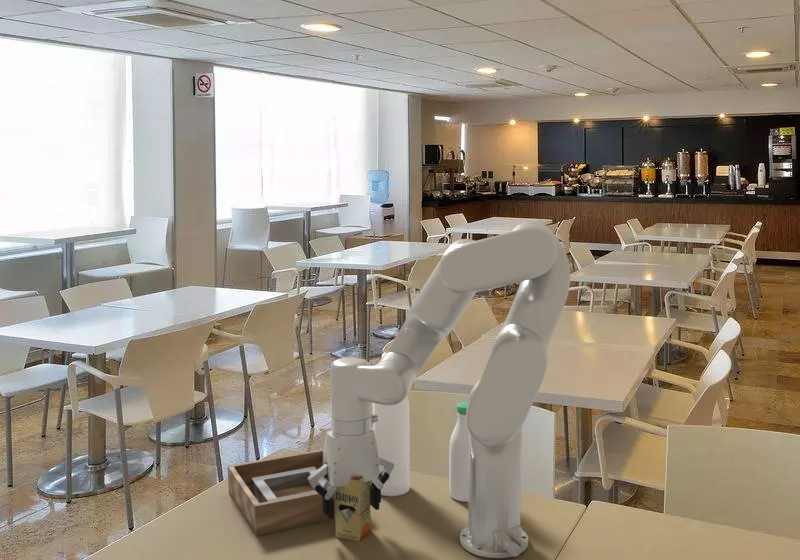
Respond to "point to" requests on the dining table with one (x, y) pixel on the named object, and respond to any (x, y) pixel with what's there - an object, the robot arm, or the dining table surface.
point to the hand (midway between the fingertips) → (352, 511)
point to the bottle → (394, 444)
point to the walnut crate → (278, 492)
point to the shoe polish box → (353, 509)
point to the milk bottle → (459, 457)
